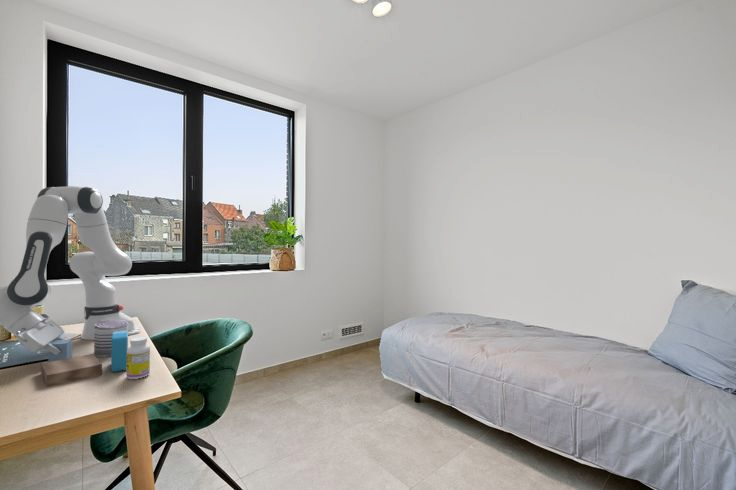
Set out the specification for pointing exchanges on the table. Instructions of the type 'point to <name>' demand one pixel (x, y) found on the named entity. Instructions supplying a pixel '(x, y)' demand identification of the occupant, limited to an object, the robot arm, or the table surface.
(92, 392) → the table surface
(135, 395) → the table surface
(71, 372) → the walnut base block
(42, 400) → the table surface
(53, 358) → the slate blue block
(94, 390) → the table surface
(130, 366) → the supplement bottle
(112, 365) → the data package
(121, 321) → the can
